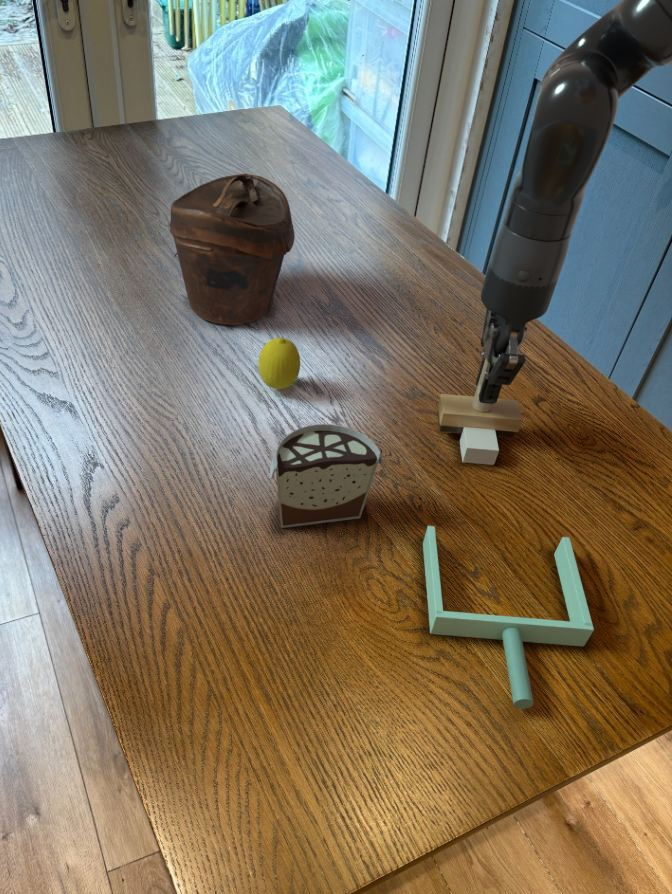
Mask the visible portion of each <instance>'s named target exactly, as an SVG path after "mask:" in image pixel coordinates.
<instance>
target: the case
mask: <svg viewBox="0 0 672 894" xmlns="http://www.w3.org/2000/svg"><path fill="white" fill-rule="evenodd" d="M169 233H170V234H171V235H172V238H173V241H174V245H175V251H176V253H175V254H174V256H173V257H174V258H176V256H177V259H178V263H179V266H180V270H181V275H182V280H183V282H184V288H185V292H186V296H187V300H188V304H189V307H190V309H191V310H192V312H193V313H194V314H195V315H196V316H198V317H199V318H201V319H203V320H204V321H207V322H210V323H214V324H218V325H230V326H231V325H233V326H234V325H235V326H236V325H243V324H249V323H252V322H254V321H257V320H259V319H261V318H262V317H264V316H265V315H266V314H268V313H269V312H270V311H271V310H272V307H273V302H274V301H273V300H274V295H275V293H276V288H277V285H278V280H279V277H280V273H281V271H282V265H283V262H284V258H285V256H286V255H287V253H290V252H291V250H292V248H293V246H294V244H295V238H296V235H295V229H294V224H293V220H292V213H291V207H290V204H289V200H288V198H287V195H285V192H284V191H283V190H282V189H281V188H280V187H279V186H278V185H277V184H275V183H274V182H272V181H270V180H269V179H267V178H265V177H264V176H260V175H255V174H249V173H238V174H232V175H231V174H230V175H226V176H225V175H224V176H222V177H218V178H216V179H213V180H211V181H208V182H204V183H203V184H201V185H198V186H197V187H195V188H193V189H191V190H190V191H188V192H186V193H184V194H182V195H181V196H180V197H178V198H177V199H175V200H174V201H173V202H172V203H171V206H170V220H169Z"/></svg>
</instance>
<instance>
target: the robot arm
mask: <svg viewBox="0 0 672 894" xmlns="http://www.w3.org/2000/svg"><path fill="white" fill-rule="evenodd" d="M671 63H672V0H620V1H619V2H618V3H617V4H616V5H615V6H614V7H612V8H611V9H610V10H608V11H607V12H605V14H603V15H602V16H601V17H600V18H598V20H596V21H595V22H594V23H593V24H591V25H590V26H589V27H588V28H587V29H586V30H584V31H583V32H582V33H581V34H580V35H579V36H578V37H577V38H576V39H574V40H573V41H572V42H571V43H570V44H569V45H568V46H567V47H566V48H565V49H564V50H563V51H562V52H561V53H560V54H559V55H558V56H557V57H556V58H555V59H554V61H552V63H551V64H550V65H549V67H548V68H547V69H546V71H545V72H544V74H543V76H542V78H541V80H540V83H539V86H538V89H537V94H536V100H535V101H536V102H535V107H534V112H533V116H532V120H531V125H530V130H529V133H528V137H527V142H526V146H525V151H524V154H523V159H522V164H521V168H520V169H519V171H518V173H517V174H516V177H515V179H514V182H513V185H512V188H511V192H510V193H509V194H510V195H509V199H508V201H507V205H506V209H505V213H504V217H503V220H502V223H501V225H500V229H499V230H498V233H497V235H496V238H495V240H494V244H493V248H492V252H491V255H490V259H489V263H488V266H487V269H486V270H487V271H486V273H485V276H484V281H483V284H482V288H481V292H480V300H481V303H482V305H483V306H484V307H485V309H486V310H485V315H484V316H485V317H484V322H483V327H482V328H483V329H482V335H481V339H480V348H482V350H481V353H480V358H481V363H480V367H479V370H478V372H477V377H476V380H475V385H476V387H477V386H478V382H479V379H480V375H481V372H482V369H483V365H484V362H485V359H486V358H487V361H488V364H487V368H486V371H485V376H484V380H483V383H482V386H481V390H480V393H479V396H478V397H479V401H480V402H481V403H489V404H494V403H496V402H497V400H498V399H499V396H500V393H501V390H502V388H503V386H510V385H511V384H512V382H513V381H514V380H515V378H516V377H517V375H518V374H519V372H520V371H521V369H522V368H523V367H524V365H525V362H526V355H525V354H520V350H521V347H522V344H523V343H524V342H525V340H526V337H527V334H528V326H527V324H528V323H529V322H531V321H535V320H537V319H539V318H541V317H543V316H544V315H545V314H546V313H547V311H548V309H549V307H550V303H551V302H552V299H553V296H554V293H555V289H556V287H557V284H558V281H559V278H560V275H561V272H562V270H563V266H564V263H565V261H566V258H567V255H568V252H569V251H568V250H569V245H570V240H571V236H572V232H573V229H574V228H575V225H576V221H577V218H578V216H579V213H580V210H581V207H582V204H583V201H584V197H585V192H586V188H587V185H588V184H589V182H590V179H591V178H592V176H593V174H594V171H595V169H596V167H597V165H598V163H599V161H600V158H601V156H602V154H603V152H604V149H605V147H606V145H607V142H608V140H609V138H610V135H611V131H612V129H613V127H614V126H613V125H614V122H615V120H616V117H617V112H618V105H619V99H620V98H621V97H622V96H624V94H626V92H628V91H629V90H630V89H631V88H632V87H634V86H635V85H636V84H637V83H638V82H640V81H641V80H642V79H643V78H644V77H645V76H646V75H647V74H648V73H650V72H651V71H652V70H653V69H655V68H656V67H665V66H668V65H670V64H671ZM495 363H496V364H495ZM494 364H495V365H494Z"/></svg>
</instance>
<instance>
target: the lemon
mask: <svg viewBox="0 0 672 894" xmlns="http://www.w3.org/2000/svg"><path fill="white" fill-rule="evenodd" d="M300 369H301V357H300V352H299V350H298V347H297V346H296V345H295V343H294V342H293V341H291V340H290V339H288V338H284V337H276V338H275V337H274V338H272V339H270V340H269V341H267V342H266V343H265V344H264V345H263V347H262V348H261V351H260V354H259V356H258V373H259V376H260V378H261V380H262V381H263V383H264V384H265V385H266V386H268V387H269V388H272V389H274V390H275V389H276V390H283V389H287V388H289V387H290V386H292V385H293V384H294V383H295V382H296V380H297V379H298V377H299V375H300V371H301V370H300Z"/></svg>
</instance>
